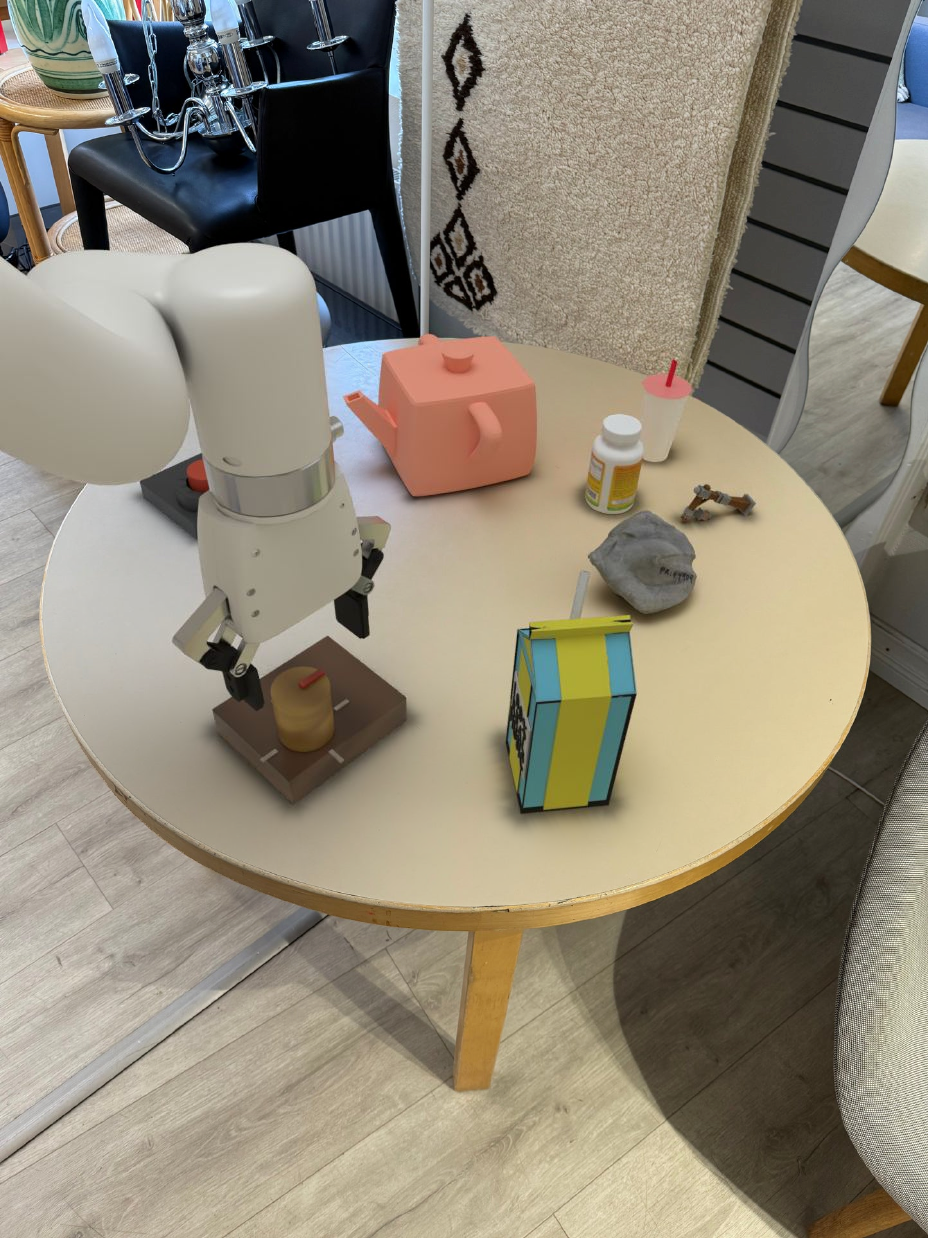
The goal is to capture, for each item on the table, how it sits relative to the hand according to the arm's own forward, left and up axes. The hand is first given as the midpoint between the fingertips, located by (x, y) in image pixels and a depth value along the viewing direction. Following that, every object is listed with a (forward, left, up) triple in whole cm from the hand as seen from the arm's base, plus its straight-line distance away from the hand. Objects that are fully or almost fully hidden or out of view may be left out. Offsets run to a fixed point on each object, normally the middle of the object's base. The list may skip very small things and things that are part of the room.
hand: (302, 662), depth 66 cm
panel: (+2, +2, -11) cm, 11 cm away
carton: (+13, -15, -11) cm, 22 cm away
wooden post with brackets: (+51, -6, -11) cm, 52 cm away
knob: (0, 0, -8) cm, 8 cm away
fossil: (+35, -7, -11) cm, 37 cm away
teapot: (+36, +22, -11) cm, 43 cm away
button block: (+15, +34, -11) cm, 39 cm away
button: (+13, +32, -7) cm, 35 cm away
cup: (+56, +6, -11) cm, 57 cm away
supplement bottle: (+45, +4, -11) cm, 46 cm away
